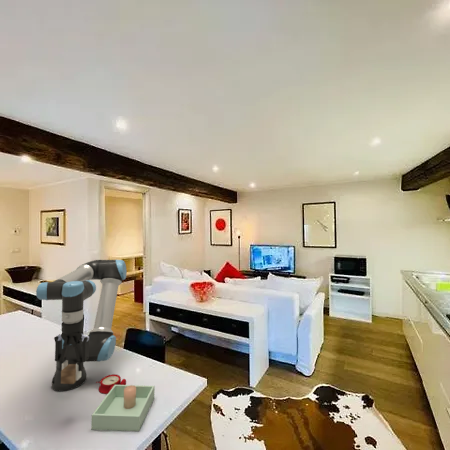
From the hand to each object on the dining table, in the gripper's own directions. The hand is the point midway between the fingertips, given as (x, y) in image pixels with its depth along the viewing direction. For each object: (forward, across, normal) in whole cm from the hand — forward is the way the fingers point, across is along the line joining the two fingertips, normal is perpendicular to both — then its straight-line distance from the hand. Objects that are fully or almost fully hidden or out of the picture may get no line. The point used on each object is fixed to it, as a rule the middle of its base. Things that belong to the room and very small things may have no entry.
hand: (71, 378), depth 104 cm
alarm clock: (+18, +7, +22) cm, 29 cm away
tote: (+17, +20, +6) cm, 27 cm away
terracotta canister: (+17, +20, +9) cm, 28 cm away
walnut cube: (+1, 0, 0) cm, 1 cm away
